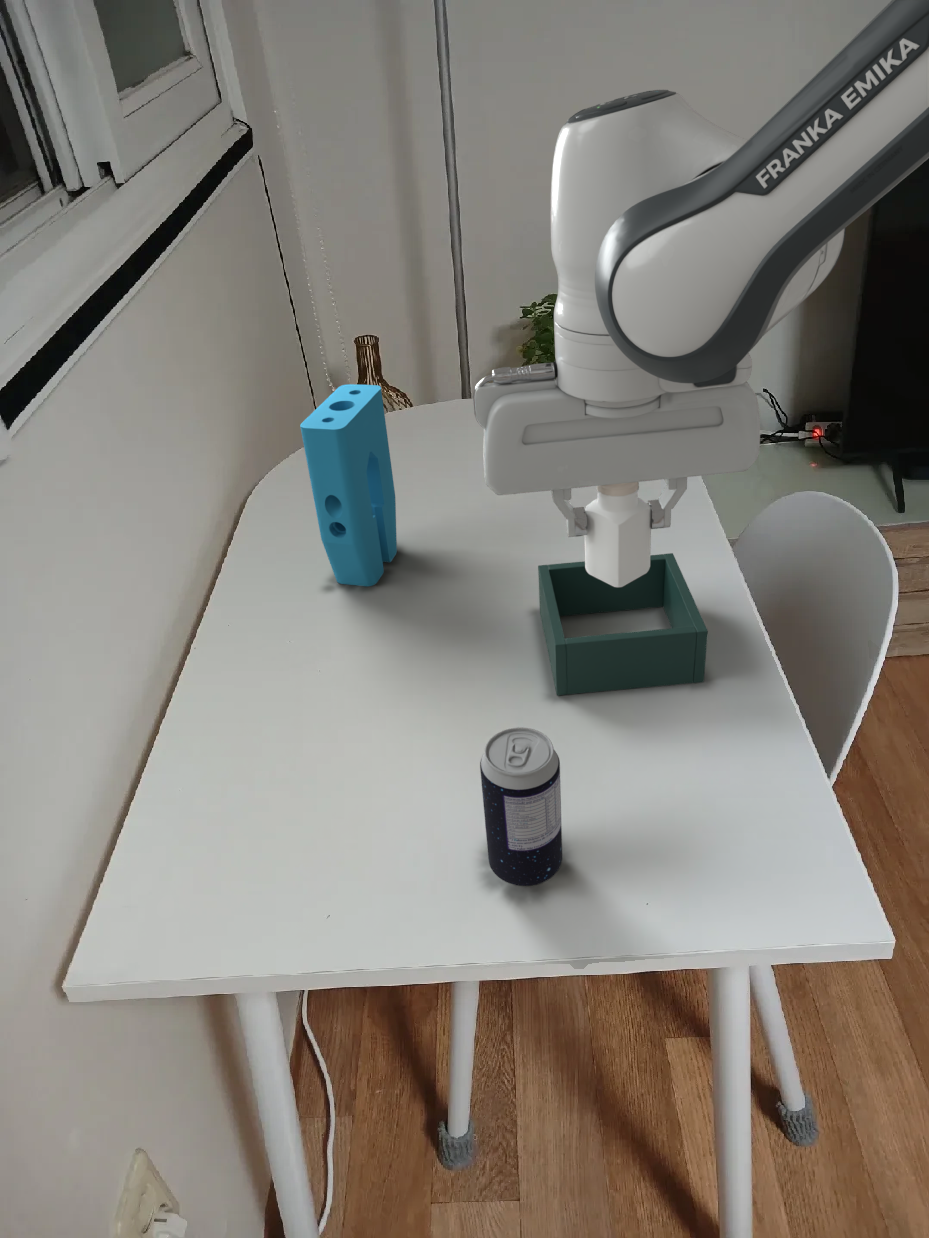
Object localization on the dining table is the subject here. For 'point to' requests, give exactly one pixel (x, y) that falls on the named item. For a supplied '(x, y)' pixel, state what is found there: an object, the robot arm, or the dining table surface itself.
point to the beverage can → (522, 806)
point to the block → (352, 482)
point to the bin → (621, 654)
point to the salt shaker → (618, 534)
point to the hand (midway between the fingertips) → (618, 529)
